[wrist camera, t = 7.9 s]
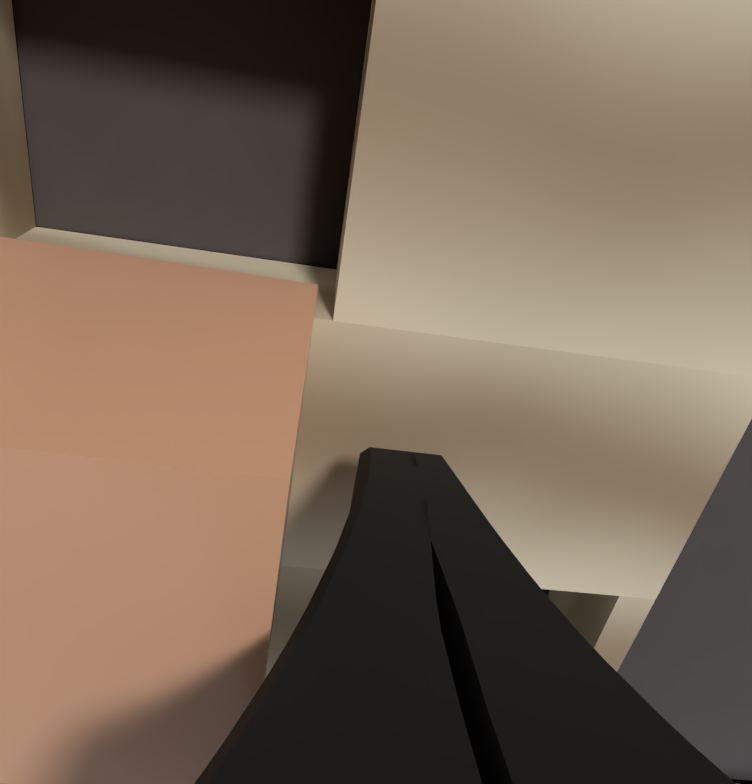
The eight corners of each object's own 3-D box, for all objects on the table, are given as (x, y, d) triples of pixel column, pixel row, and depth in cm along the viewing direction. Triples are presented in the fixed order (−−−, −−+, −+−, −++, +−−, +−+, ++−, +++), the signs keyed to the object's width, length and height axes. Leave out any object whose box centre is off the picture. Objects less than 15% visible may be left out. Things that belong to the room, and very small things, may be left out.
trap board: (494, 781, 18) (531, 969, 14) (66, 757, 17) (-14, 957, 13) (860, -44, 8) (1252, -112, 5) (-78, -246, 7) (-530, -551, 3)
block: (286, 526, 10) (249, 798, 6) (17, 497, 10) (-186, 772, 6) (318, 284, 8) (290, 480, 4) (-19, 233, 8) (-358, 405, 4)
